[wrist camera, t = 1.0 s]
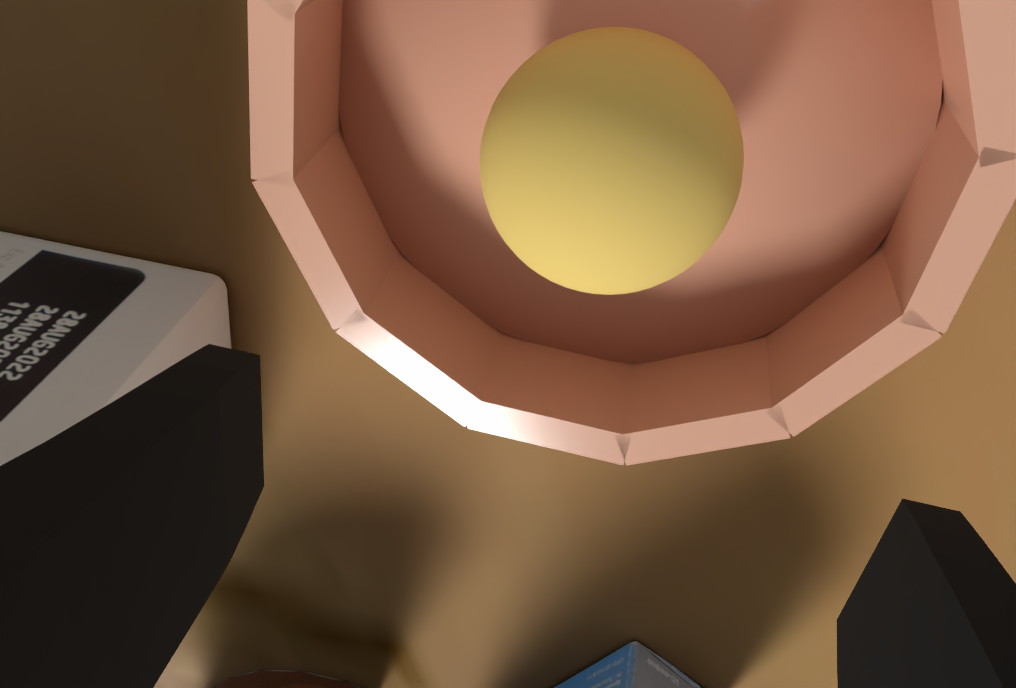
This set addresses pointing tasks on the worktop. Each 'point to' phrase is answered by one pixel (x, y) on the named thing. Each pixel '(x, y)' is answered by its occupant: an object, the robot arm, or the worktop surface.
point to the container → (91, 331)
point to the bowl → (699, 289)
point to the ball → (611, 160)
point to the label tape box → (630, 671)
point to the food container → (283, 680)
